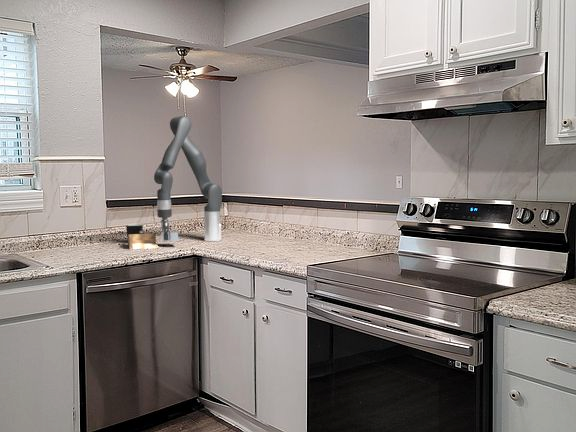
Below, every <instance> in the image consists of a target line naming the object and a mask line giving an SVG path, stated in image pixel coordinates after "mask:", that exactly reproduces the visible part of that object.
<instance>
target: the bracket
mask: <svg viewBox="0 0 576 432" xmlns="http://www.w3.org/2000/svg"><path fill="white" fill-rule="evenodd" d="M160 236H161V237H160V238H161V242H170V243H173V242H174V243H175V242H179V232H178V231H177V230H169V233H168V240H164V233H163V231H162V230H161V232H160Z"/></svg>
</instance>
